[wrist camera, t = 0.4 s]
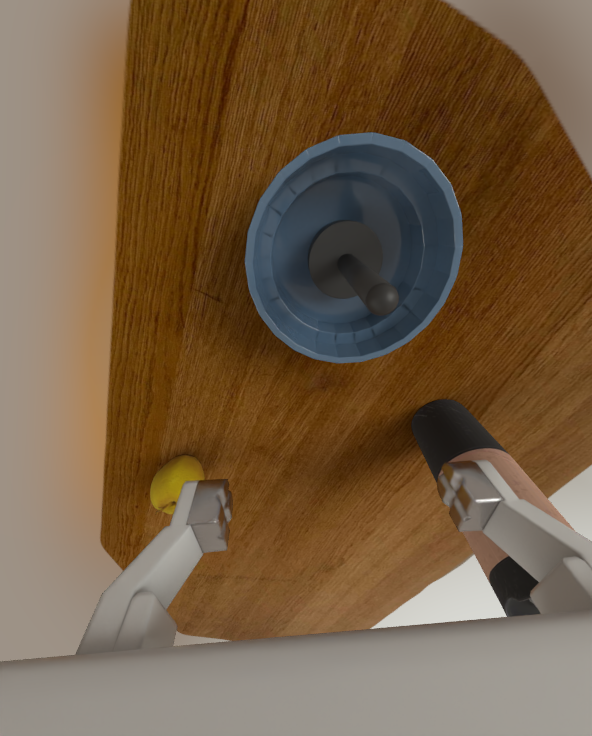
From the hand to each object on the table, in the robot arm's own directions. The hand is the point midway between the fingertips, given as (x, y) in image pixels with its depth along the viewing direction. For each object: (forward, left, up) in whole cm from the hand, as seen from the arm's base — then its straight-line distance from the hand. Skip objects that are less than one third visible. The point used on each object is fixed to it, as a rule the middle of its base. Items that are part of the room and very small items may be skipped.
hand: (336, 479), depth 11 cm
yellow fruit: (+25, -12, -22) cm, 36 cm away
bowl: (-6, +2, -22) cm, 22 cm away
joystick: (-6, +2, -21) cm, 22 cm away
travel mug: (+11, +20, -22) cm, 32 cm away
